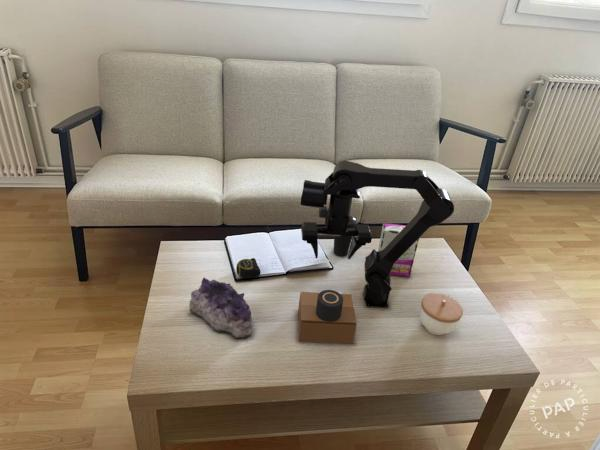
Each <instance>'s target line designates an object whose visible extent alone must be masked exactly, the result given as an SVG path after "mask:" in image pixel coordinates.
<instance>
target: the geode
mask: <svg viewBox="0 0 600 450" xmlns="http://www.w3.org/2000/svg"><path fill="white" fill-rule="evenodd" d="M244 297H245V293H244V292H242V293H239V292H238V291H237V290H236V289H235V288H234V287H233V285H231V283H230V282H229V283H226V282H220V281H217V280H216V279H212V280H209V279H207V278H206V277H203V278H202V279H201V284H200V286H199V287H198V289H195V290H193V291H191V293H190V300H189V303H188V305H189V312H190V313H191V314H193V315H195V316H197V317H199V318H202V319H203V321H204V322H205V323H206V324H208V325H209V326H210V327H211V328H212V329H213V330H214V331H215V332H226V333H229V334H230V335H231V336H232V337H233V338H234V339H236V340H242V339H247V338H249V337H251V336H252V333H253V332H252V331H253V326H254V324H253V322H252V318H253V317H252V311H251V308H250V306H249V305H248V303H247V301H246V300H245V298H244Z"/></svg>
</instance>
